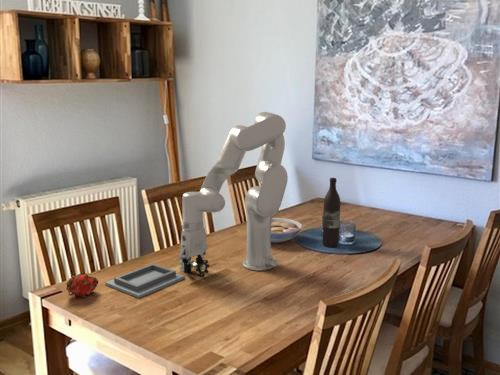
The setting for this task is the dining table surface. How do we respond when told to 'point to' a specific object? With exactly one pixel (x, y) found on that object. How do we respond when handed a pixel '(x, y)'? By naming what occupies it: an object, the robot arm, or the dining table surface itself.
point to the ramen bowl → (284, 229)
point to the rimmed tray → (145, 280)
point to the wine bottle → (331, 216)
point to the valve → (197, 266)
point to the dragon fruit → (81, 285)
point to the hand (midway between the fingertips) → (193, 270)
